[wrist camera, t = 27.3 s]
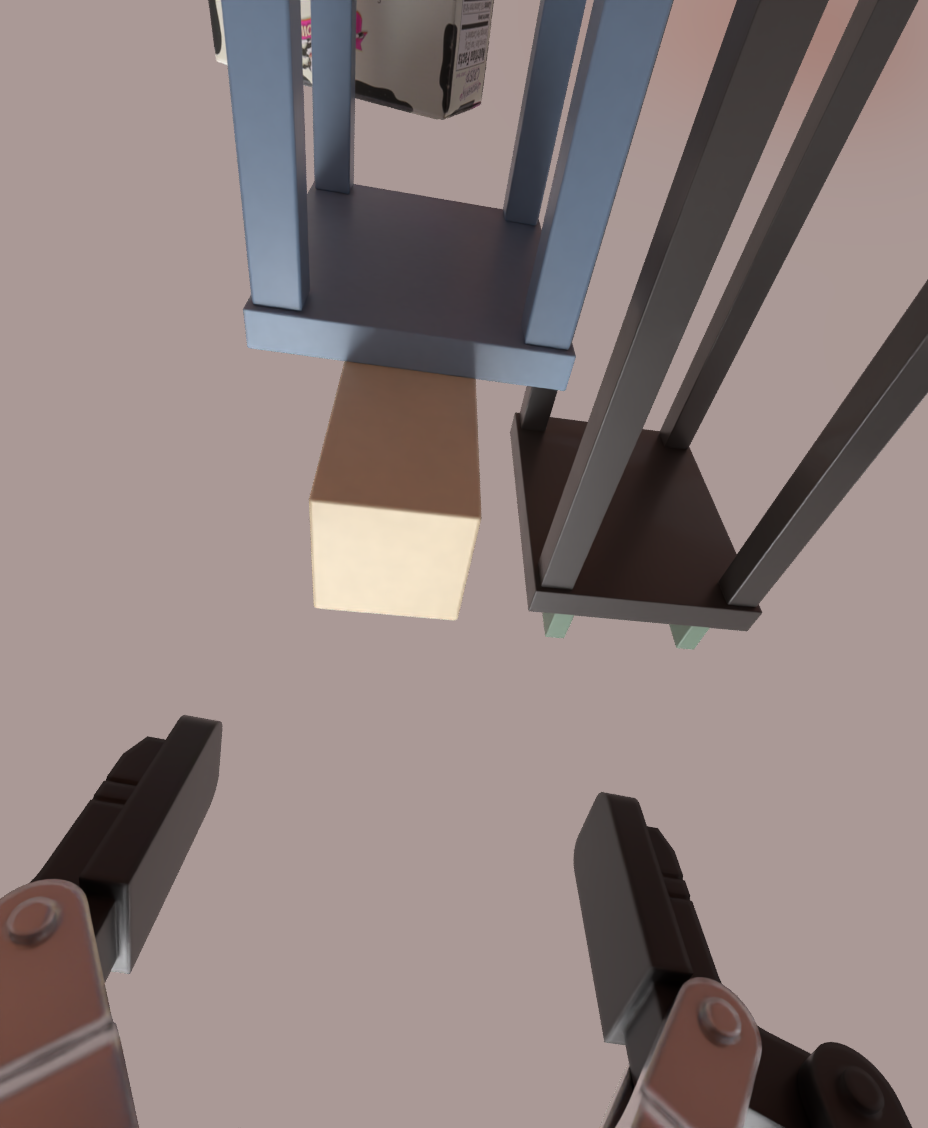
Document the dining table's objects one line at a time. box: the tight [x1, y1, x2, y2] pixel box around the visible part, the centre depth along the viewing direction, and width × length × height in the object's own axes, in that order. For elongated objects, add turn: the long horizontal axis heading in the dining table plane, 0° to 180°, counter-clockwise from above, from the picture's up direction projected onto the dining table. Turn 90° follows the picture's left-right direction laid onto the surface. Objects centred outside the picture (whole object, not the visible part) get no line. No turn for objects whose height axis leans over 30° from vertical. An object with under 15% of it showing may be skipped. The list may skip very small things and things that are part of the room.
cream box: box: [309, 361, 481, 620], centre depth 22 cm, size 21×4×4 cm, turn 179°
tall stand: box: [510, 0, 928, 649], centre depth 23 cm, size 14×11×34 cm
